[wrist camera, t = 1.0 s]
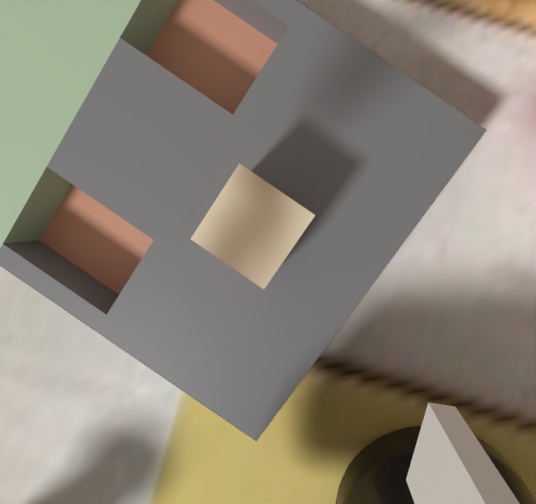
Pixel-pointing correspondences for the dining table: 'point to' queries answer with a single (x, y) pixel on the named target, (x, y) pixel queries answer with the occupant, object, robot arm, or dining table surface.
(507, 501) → the robot arm
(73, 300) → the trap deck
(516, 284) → the dining table surface
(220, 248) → the birch block
